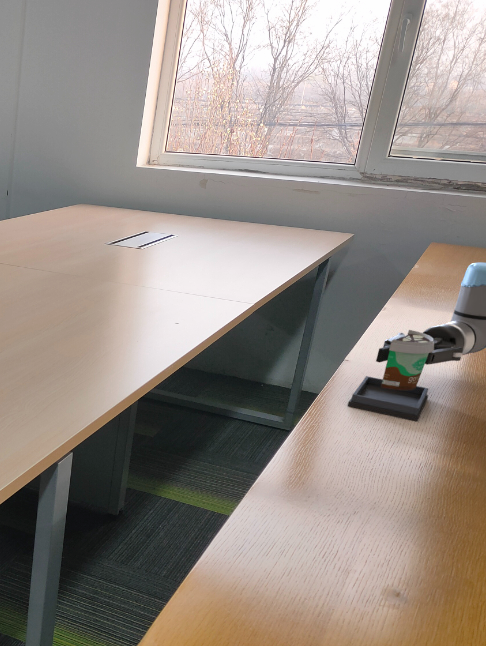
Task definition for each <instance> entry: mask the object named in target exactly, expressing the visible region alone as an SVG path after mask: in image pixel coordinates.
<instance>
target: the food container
mask: <svg viewBox="0 0 486 646" xmlns="http://www.w3.org/2000/svg"><path fill="white" fill-rule="evenodd" d="M405 335H406V336H405V337H401V338H400V339H399V340H392V343H391V345H390V349H389V350H390V352H389V356H388V360H387V361H386V365H385V369H384V373H383V376H382V377H383V378H382V379H383V381H382V385H381V387H383V388H387V389H394V390H413V389H415V388H416V386H418V383H419V380H420V377H421V375H422V372H423V369H424V367H425V365H426V364H425V362H426V359H427V357H428V354H429V353H431V352H433V351H434V342H433V338H432V337H431V336H429V335H427V334H424V333H423V332H420V331H417V330H412V329H408V332H407V334H405Z"/></svg>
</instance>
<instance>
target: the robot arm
mask: <svg viewBox="0 0 486 646" xmlns="http://www.w3.org/2000/svg"><path fill="white" fill-rule="evenodd" d="M466 268H467V269H466V271H465V272H464V276H463V279H462V281H461V282H460V288H459V291H458V296H457V299H456V302H455V307H454V310H453V313H452V316H451V320H450V322H446V323H442V324H438V325H434V326H431V327H427V328H426V329H425V330H423V332H422V333H424V334H427V335H429V336H431V337H432V338H433V342H434V351H433V352H431V353H429V354H428V357H427V359H426V362H425V365H428V366H429V365H434V364H440V363H447V362H455V361H456V362H459V361H461V359H462V356H465V355H469V354H475V353H478V352H481V351H483V350H484V349H486V262H473V263H471V264H469V265H468V267H466ZM406 335H407V334H405V333H403V332H397V335H395V336H392V337H389V338H387V339H385V340H384V342H383V346H382V347H379V348H378V352H377V354H376V355H377V356H376V359H375V362H377V363H383V362H387V360H388V356H389V352H390V350H389V349H390V345H391V343H392V340H399V339H400V338H401V337H405V336H406Z"/></svg>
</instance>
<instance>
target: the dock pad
mask: <svg viewBox="0 0 486 646" xmlns="http://www.w3.org/2000/svg"><path fill="white" fill-rule="evenodd" d="M382 381H383V378H379V377H373V376H368V375H366V376H365V377H364V378H363V380H362V381H361V383H360V384H359V385H358V387H356V389H355V391H354V392H353V393H352V395H351V397H350V399H349V401H348V402H347V407H349V408H353V409H354V408H355V409H359V410H363V411H368V412H373V413H377V414H381V415H385V416H386V415H387V416H391V417H395V418H400V419H405V420H409V421H413V422H418V421H419V419H420V417H421V414H422V412H423V410H424V408H425V406H426V403H427V401H428V399H429V394H428V391H429V388H428V387H424V386H419V385H417V386H416V388H415V389H413V390H394V389H387V388H383V387H381V385H382Z"/></svg>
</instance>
